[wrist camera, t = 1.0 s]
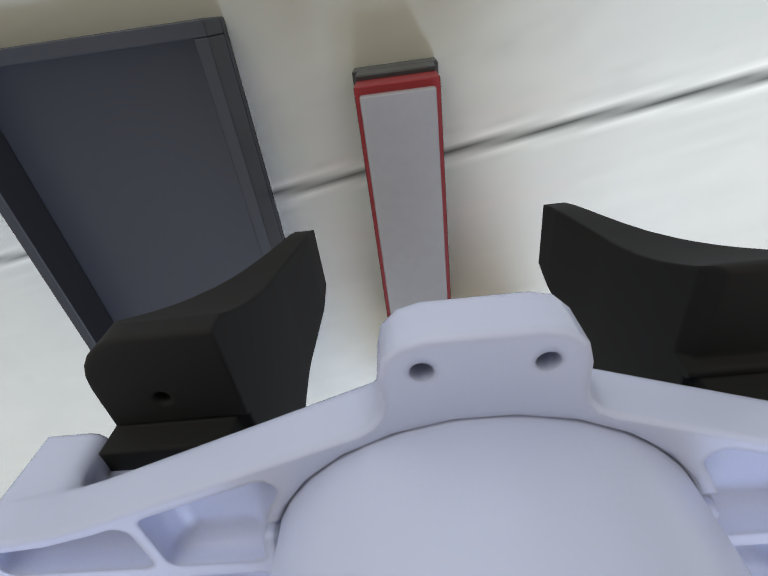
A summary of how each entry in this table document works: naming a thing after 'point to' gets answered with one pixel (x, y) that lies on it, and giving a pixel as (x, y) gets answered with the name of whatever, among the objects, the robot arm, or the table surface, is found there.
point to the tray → (132, 168)
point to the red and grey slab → (405, 177)
